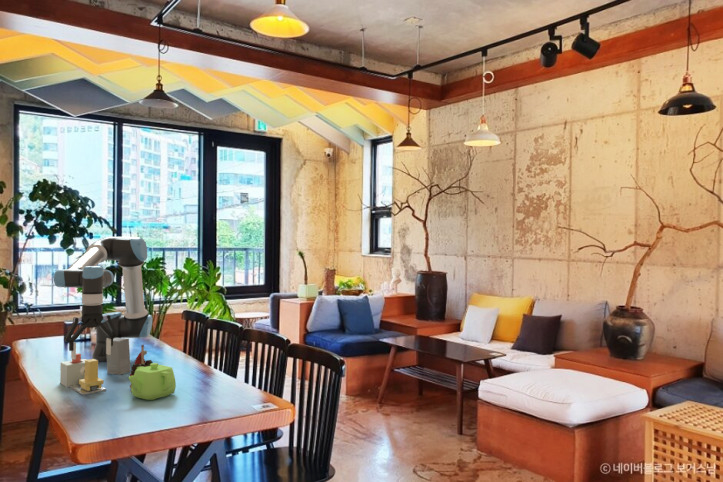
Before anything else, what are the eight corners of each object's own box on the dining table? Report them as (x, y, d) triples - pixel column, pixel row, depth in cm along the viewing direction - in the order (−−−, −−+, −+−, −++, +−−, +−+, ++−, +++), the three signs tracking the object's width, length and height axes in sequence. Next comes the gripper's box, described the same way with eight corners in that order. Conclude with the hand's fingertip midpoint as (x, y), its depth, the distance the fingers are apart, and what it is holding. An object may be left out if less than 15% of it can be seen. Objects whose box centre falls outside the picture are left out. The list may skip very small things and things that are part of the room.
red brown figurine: (141, 392, 223) (142, 348, 223) (123, 389, 226) (124, 346, 226) (159, 385, 233) (160, 343, 233) (142, 383, 236) (142, 341, 236)
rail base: (91, 383, 235) (91, 377, 235) (105, 390, 224) (106, 384, 224) (68, 387, 228) (69, 381, 228) (82, 394, 218) (82, 388, 218)
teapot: (145, 408, 203) (145, 372, 203) (112, 398, 214) (112, 365, 214) (185, 396, 219) (185, 363, 219) (152, 388, 230) (153, 357, 230)
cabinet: (85, 379, 241) (85, 358, 241) (92, 382, 236) (92, 362, 235) (60, 383, 234) (60, 362, 234) (67, 387, 228) (67, 365, 228)
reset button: (79, 364, 237) (79, 353, 237) (82, 366, 235) (82, 354, 235) (70, 365, 235) (70, 354, 235) (73, 367, 232) (73, 355, 232)
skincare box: (130, 372, 255) (131, 338, 255) (118, 375, 248) (118, 340, 248) (117, 370, 258) (118, 336, 258) (104, 373, 252) (105, 339, 252)
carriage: (96, 384, 228) (97, 357, 228) (103, 387, 224) (103, 360, 224) (78, 387, 223) (79, 360, 223) (85, 391, 219) (85, 363, 219)
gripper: (119, 301, 235) (118, 351, 235) (55, 305, 217) (54, 359, 217) (127, 303, 230) (126, 353, 230) (62, 307, 212) (61, 362, 212)
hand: (91, 356), depth 223 cm, fingers open, 13 cm apart
